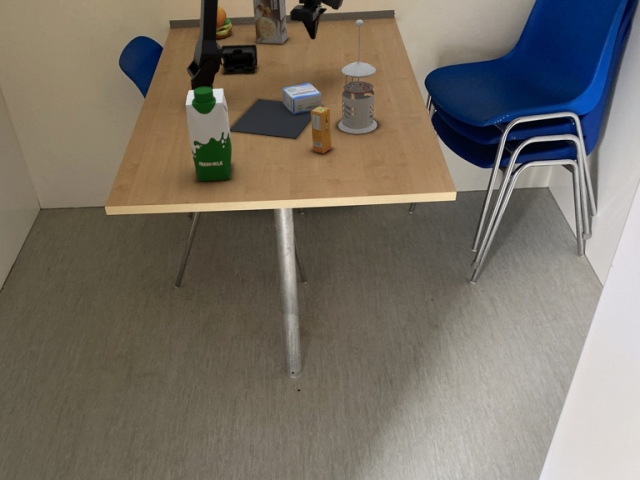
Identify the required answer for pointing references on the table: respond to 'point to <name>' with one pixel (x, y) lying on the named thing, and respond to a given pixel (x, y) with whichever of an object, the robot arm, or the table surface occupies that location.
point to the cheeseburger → (222, 24)
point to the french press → (358, 97)
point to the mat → (272, 120)
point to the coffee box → (270, 21)
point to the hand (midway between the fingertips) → (313, 39)
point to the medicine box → (301, 98)
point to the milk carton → (209, 133)
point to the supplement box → (321, 129)
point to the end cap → (239, 59)
